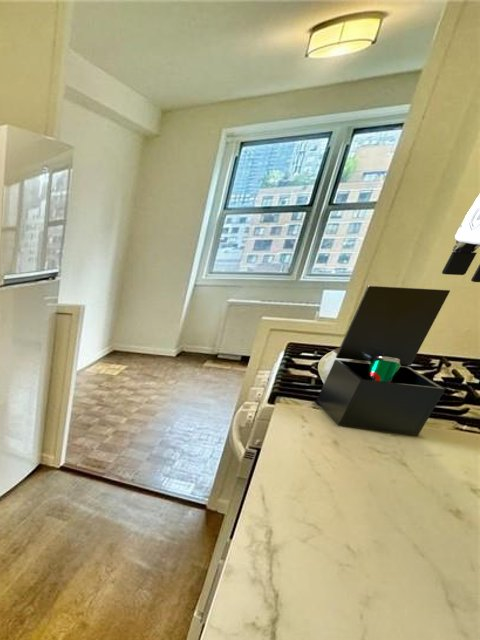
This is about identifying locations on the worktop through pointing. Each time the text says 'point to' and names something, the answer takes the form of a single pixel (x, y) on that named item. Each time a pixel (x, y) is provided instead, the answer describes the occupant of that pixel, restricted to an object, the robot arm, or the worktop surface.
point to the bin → (378, 399)
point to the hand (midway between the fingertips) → (467, 278)
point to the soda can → (382, 369)
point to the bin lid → (391, 323)
